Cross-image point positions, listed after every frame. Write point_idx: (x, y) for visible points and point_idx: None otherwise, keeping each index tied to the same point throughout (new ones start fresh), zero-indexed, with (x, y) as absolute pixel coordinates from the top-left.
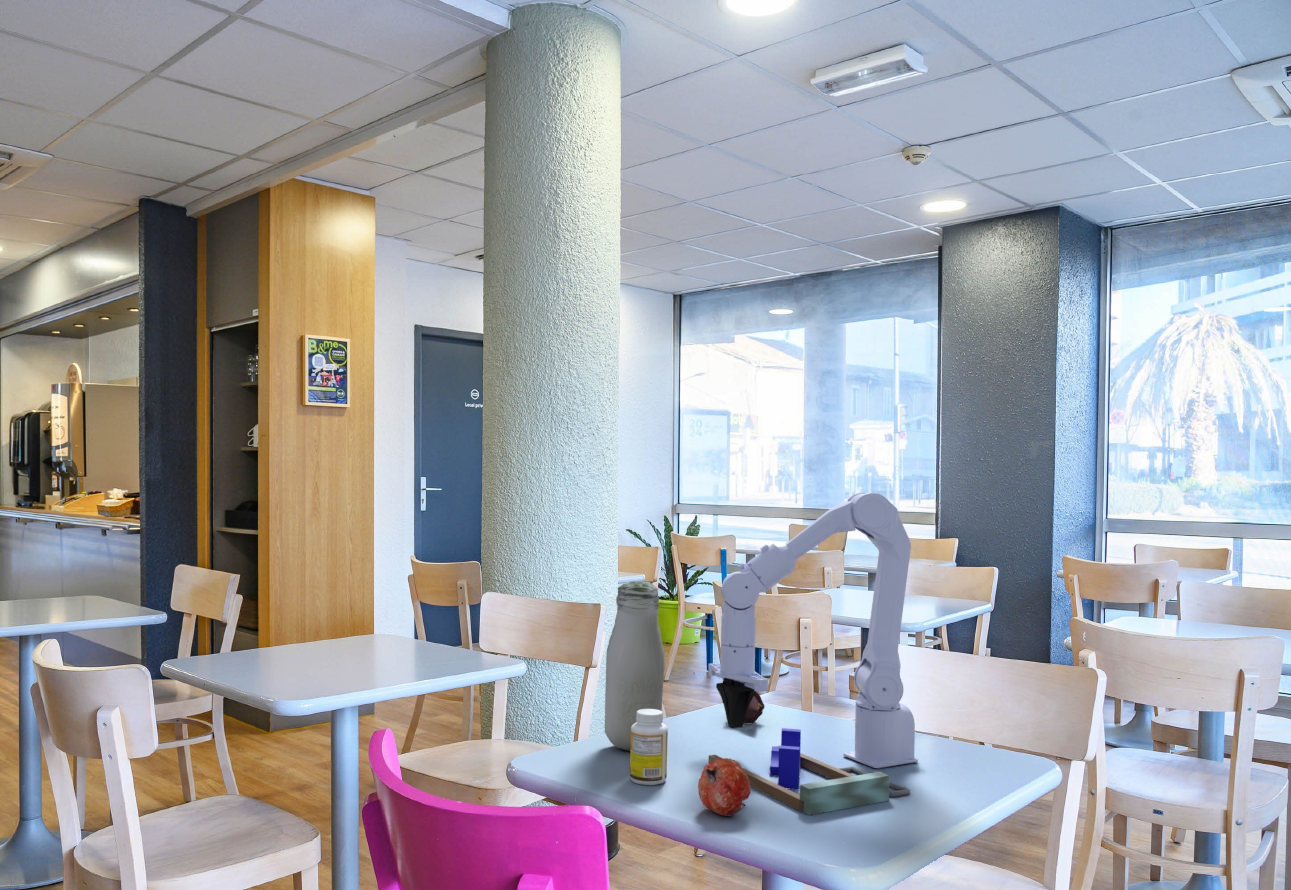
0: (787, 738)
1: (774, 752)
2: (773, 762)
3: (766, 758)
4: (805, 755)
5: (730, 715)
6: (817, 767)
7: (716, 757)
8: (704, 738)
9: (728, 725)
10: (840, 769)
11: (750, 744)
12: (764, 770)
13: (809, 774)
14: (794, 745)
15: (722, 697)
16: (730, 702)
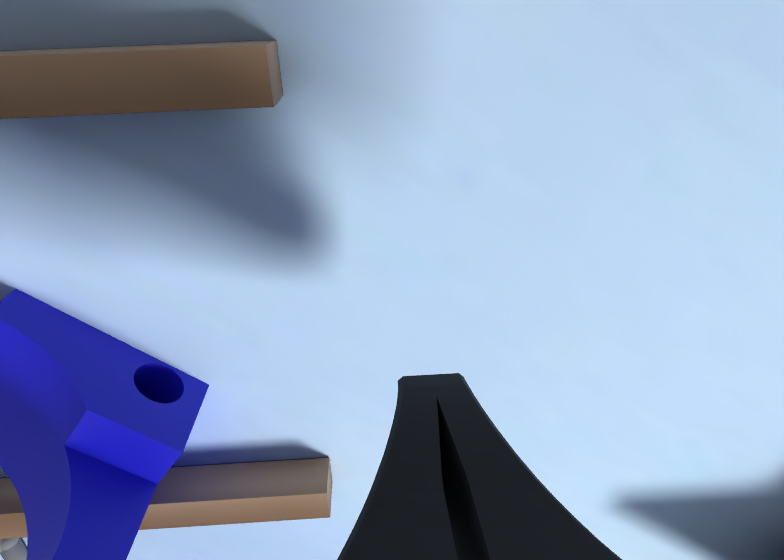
0: (51, 540)
1: (75, 413)
2: (33, 355)
3: (299, 403)
4: (140, 526)
5: (415, 434)
6: (8, 497)
7: (199, 76)
8: (754, 306)
9: (458, 376)
10: (3, 555)
11: (533, 443)
12: (99, 301)
13: None
14: (40, 526)
15: (572, 552)
16: (393, 542)
